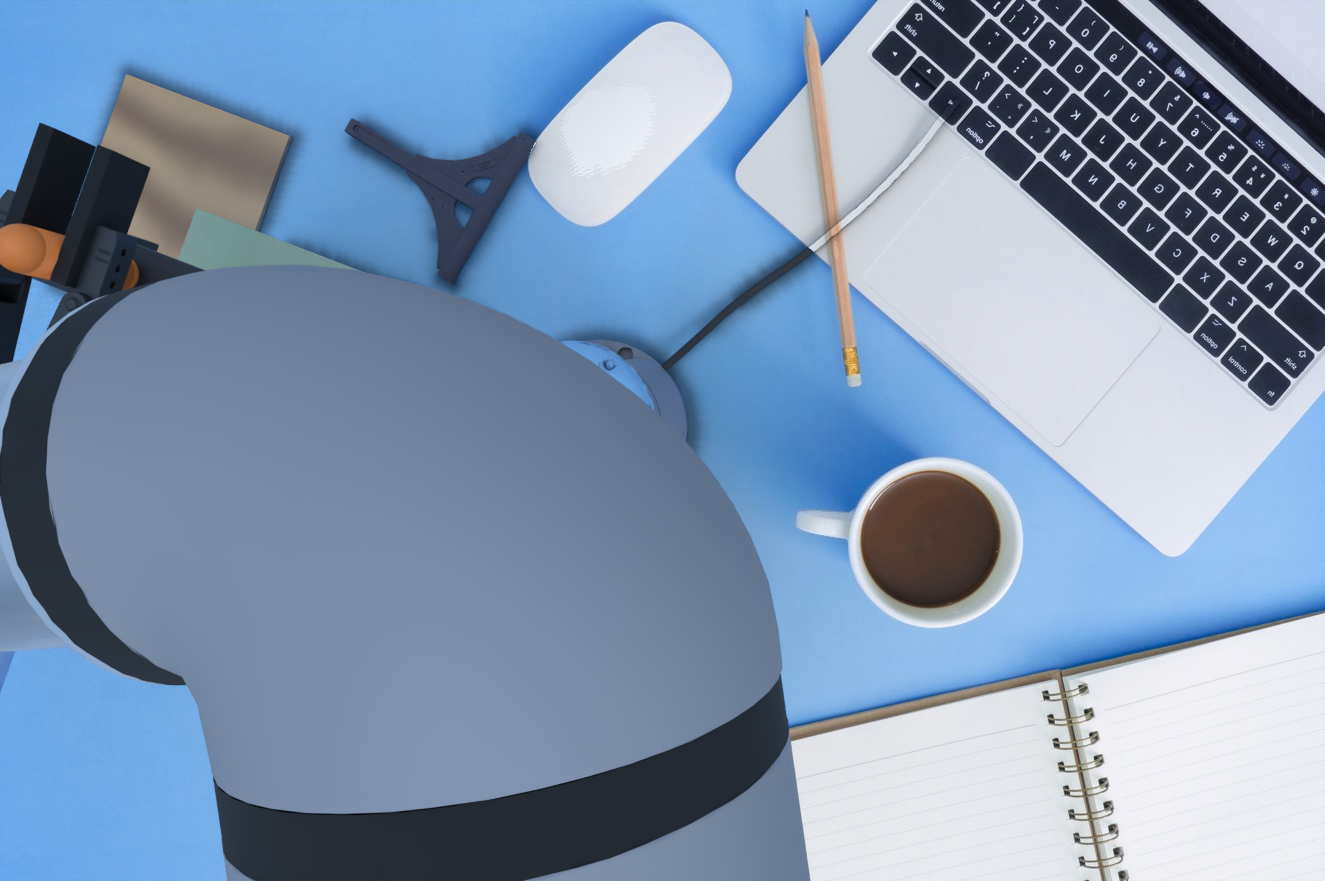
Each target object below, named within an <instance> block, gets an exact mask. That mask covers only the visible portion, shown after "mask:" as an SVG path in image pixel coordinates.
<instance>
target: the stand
mask: <svg viewBox="0 0 1325 881" xmlns="http://www.w3.org/2000/svg"><path fill="white" fill-rule="evenodd" d="M178 260H180V261H183V262H185V263H188V264H190V265H193V266H196V267H198V268H201V269H203V270H206V271H207V270H213V269H219V268H229V267H245V266H262V265H309V266H320V267H331V268H342V269H353V270H358V271H362V272H364V271H363V270H360V269H357V268H354V267H352V266H349V265H347V264H344V263H341V262H339V261H336V260H334V259H331V258H329V257H326V256H323V255H321V254H318V253H316V252H313V251H310V250H307V249H305V248H303V247H300V246H297V245H294V244H292V243H290V242H287V241H284V240H281V239H279V238H277V237H274V236H271V235H269V234H266V233H263V232H261V231H256V230H253V229H251V228H248V227H245V226H243V225H240V224H238V223H235V222H232V221H230V220H227V219H224V218H222V217H219V216H217V215H214V214H211V213H209V212H206V211H204V210H201V209H198V208H196V211H195V213H194V216H193V219H192V222H191V224H190V227H189V230H188V233H187V236H186V238H185V241H184V244H183V247H182V249H181V252H180V255H179V258H178Z"/></svg>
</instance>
